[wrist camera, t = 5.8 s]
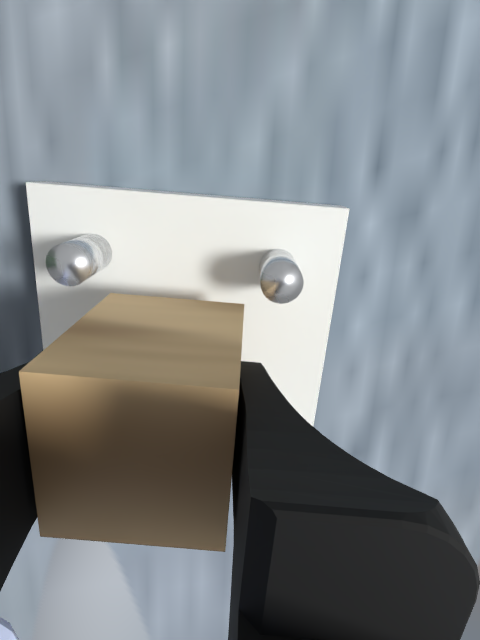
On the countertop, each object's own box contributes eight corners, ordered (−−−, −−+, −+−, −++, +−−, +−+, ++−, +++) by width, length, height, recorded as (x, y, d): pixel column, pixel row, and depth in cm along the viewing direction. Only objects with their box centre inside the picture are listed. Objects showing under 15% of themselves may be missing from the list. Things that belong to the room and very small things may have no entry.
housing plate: (302, 449, 17) (313, 510, 14) (66, 430, 17) (26, 486, 14) (341, 205, 13) (366, 215, 10) (44, 181, 13) (-15, 183, 10)
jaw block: (234, 417, 13) (225, 552, 9) (115, 408, 13) (39, 536, 9) (244, 303, 12) (239, 389, 7) (110, 292, 12) (18, 371, 7)
